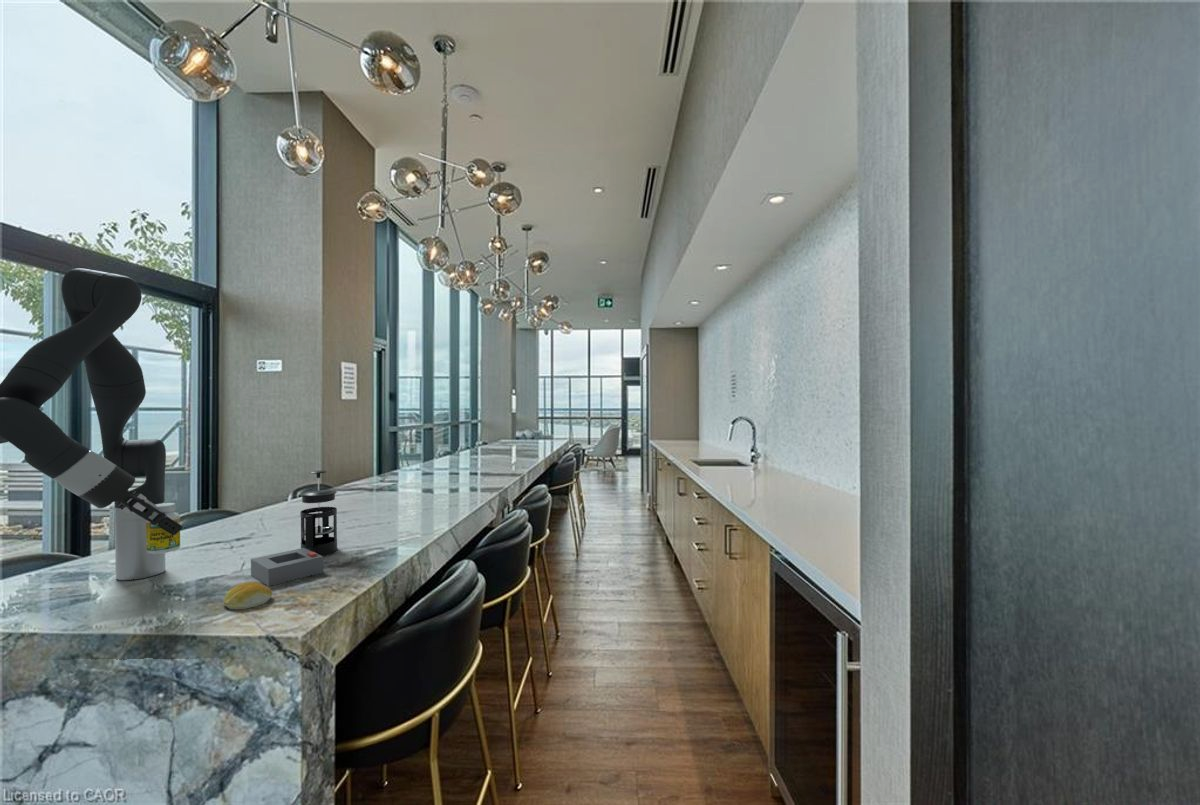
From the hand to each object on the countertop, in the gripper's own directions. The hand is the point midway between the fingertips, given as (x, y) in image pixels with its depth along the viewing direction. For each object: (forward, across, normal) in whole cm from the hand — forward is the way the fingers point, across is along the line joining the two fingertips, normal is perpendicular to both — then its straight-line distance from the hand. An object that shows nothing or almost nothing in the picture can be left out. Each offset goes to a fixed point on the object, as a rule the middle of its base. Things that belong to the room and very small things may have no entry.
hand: (174, 528), depth 109 cm
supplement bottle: (+2, 0, +4) cm, 5 cm away
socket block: (+27, +2, -4) cm, 27 cm away
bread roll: (+19, -11, +4) cm, 22 cm away
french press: (+35, +14, -13) cm, 40 cm away
